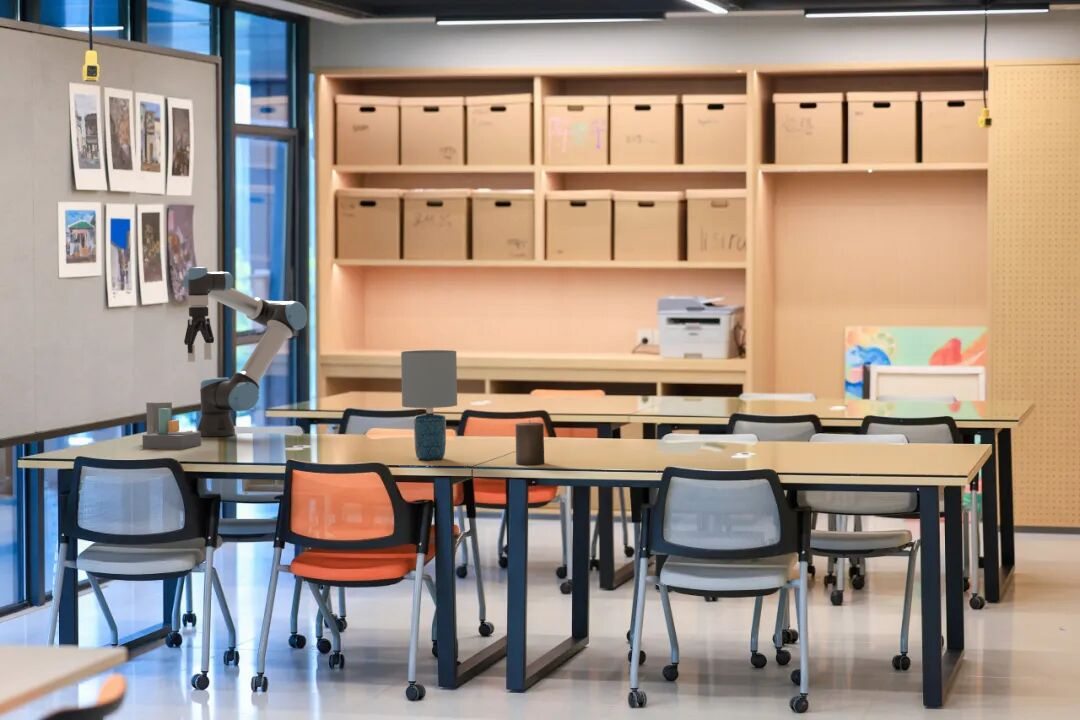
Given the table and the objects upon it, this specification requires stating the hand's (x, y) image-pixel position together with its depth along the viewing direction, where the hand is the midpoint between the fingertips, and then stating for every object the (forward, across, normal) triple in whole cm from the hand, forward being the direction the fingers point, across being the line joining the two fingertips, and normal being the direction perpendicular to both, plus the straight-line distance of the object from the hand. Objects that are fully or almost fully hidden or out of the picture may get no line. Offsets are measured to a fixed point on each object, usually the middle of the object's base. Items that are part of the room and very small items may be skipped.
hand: (199, 360), depth 623 cm
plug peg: (+31, +20, -5) cm, 37 cm away
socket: (+32, +20, -2) cm, 38 cm away
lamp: (+32, +41, +110) cm, 122 cm away
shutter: (+27, +20, +2) cm, 33 cm away
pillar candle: (+32, +47, +148) cm, 159 cm away
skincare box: (+32, +6, -15) cm, 36 cm away
